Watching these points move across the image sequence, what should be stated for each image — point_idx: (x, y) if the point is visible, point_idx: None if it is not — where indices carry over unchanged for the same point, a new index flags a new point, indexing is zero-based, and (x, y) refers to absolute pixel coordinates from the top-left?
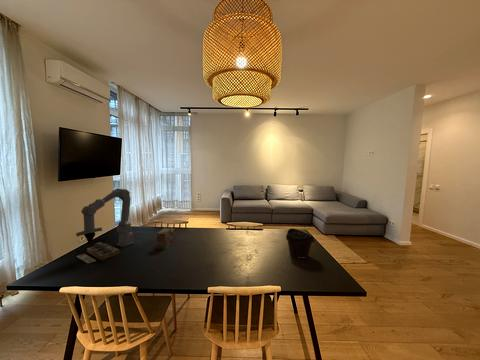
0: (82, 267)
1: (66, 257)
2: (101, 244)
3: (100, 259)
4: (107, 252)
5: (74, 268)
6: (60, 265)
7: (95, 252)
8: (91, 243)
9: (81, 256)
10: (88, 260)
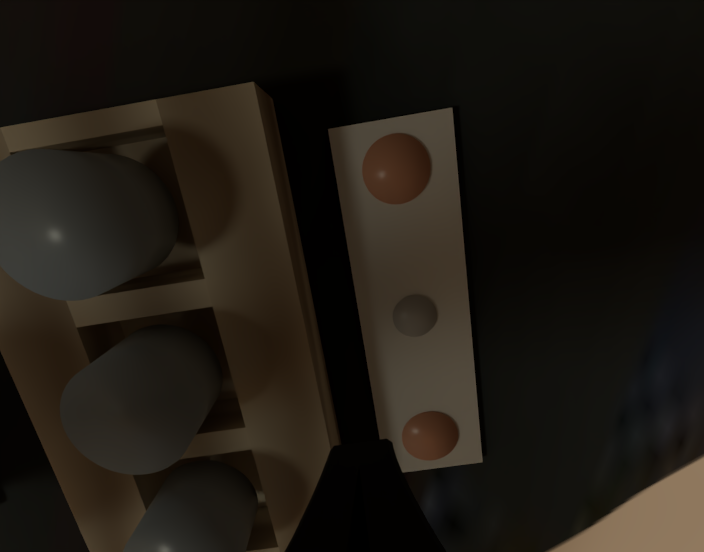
0: (547, 14)
1: (562, 507)
2: (148, 514)
3: (274, 115)
4: (123, 159)
5: (632, 69)
6: (697, 318)
7: (293, 316)
8: (340, 450)
9: (441, 414)
10: (415, 210)
